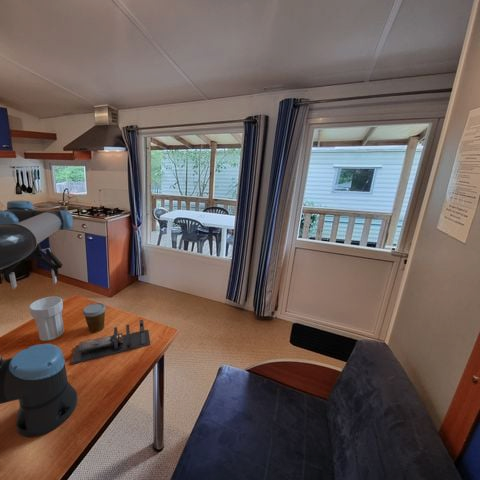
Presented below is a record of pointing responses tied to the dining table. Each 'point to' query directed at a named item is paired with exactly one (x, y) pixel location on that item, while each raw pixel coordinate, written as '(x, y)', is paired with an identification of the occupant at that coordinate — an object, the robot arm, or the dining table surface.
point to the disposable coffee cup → (95, 316)
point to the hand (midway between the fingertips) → (35, 285)
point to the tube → (99, 342)
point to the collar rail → (115, 345)
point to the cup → (48, 317)
